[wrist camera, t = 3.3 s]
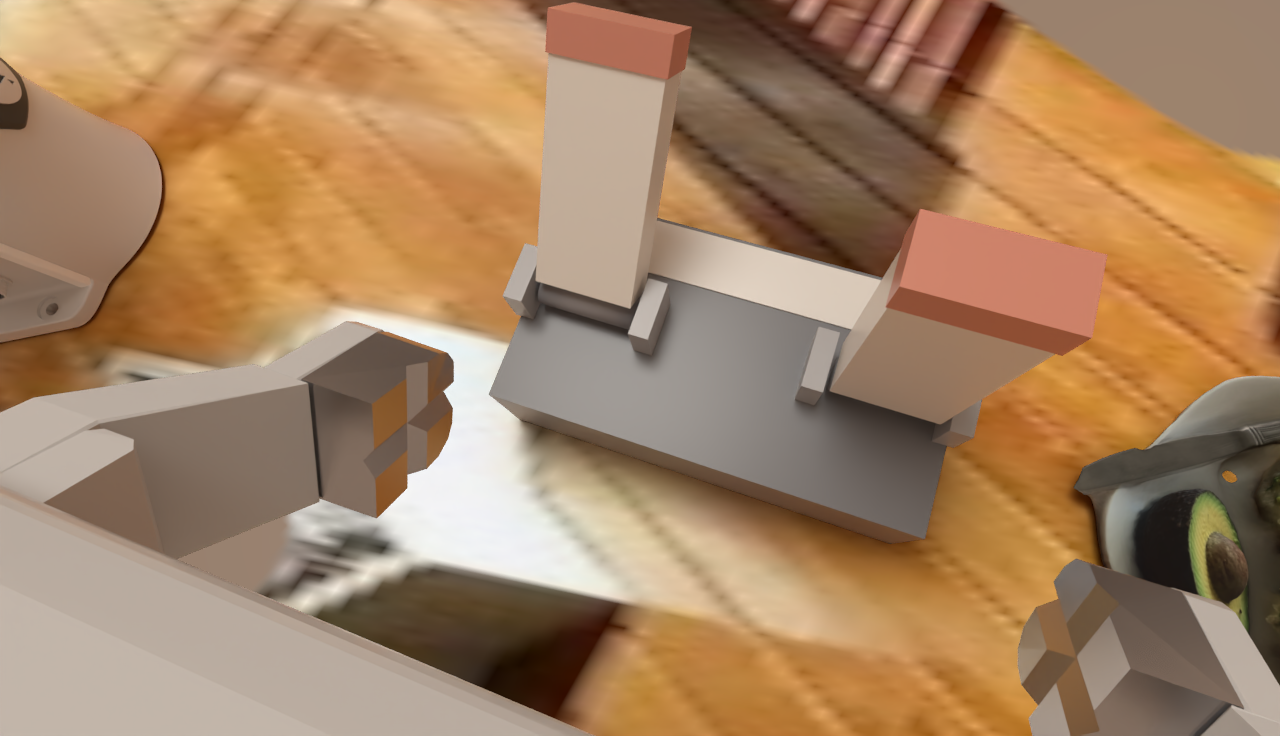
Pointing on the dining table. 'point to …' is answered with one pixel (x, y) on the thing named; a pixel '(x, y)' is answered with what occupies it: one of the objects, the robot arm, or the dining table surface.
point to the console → (731, 383)
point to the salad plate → (1203, 506)
